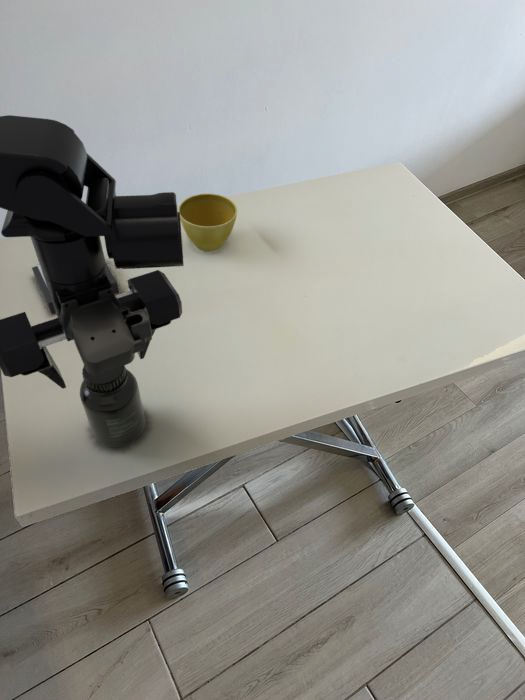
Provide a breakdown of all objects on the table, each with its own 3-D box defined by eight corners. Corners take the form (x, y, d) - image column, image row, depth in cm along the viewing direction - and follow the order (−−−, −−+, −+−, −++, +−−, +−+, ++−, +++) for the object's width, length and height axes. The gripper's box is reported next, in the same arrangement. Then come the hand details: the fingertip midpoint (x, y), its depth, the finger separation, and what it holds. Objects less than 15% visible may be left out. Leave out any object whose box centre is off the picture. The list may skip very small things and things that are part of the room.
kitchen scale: (51, 314, 83) (46, 300, 81) (35, 278, 88) (30, 264, 86) (119, 292, 87) (116, 278, 85) (99, 259, 92) (96, 245, 90)
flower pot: (246, 251, 96) (247, 217, 90) (194, 266, 92) (192, 232, 87) (222, 221, 101) (221, 188, 96) (172, 235, 98) (169, 201, 93)
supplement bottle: (89, 413, 71) (69, 354, 62) (139, 400, 73) (127, 341, 64) (97, 455, 67) (76, 399, 58) (150, 440, 69) (139, 383, 60)
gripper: (-13, 358, 42) (40, 459, 53) (201, 286, 49) (206, 389, 60) (-39, 275, 48) (13, 382, 60) (154, 221, 55) (167, 326, 66)
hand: (103, 370), depth 61 cm, fingers open, 9 cm apart
